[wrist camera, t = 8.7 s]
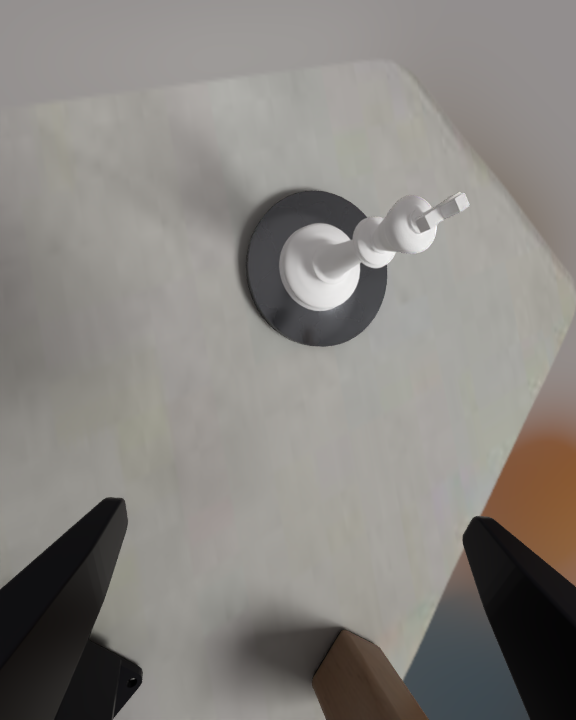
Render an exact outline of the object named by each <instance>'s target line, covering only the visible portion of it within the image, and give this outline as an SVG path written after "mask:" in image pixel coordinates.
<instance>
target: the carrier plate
mask: <svg viewBox="0 0 576 720" xmlns="http://www.w3.org/2000/svg"><path fill="white" fill-rule="evenodd" d="M365 218H367V217H366V216H365V214H364V213H363V212H362V211H361V210H359V209H358V208H357V207H356V206H355V205H353V204H352V203H351V202H349V201H347V200H346V199H344V198H342V197H340V196H337V195H335V194H332V193H328V192H323V191H304V192H300V193H296V194H293V195H290V196H288V197H286V198H284V199H283V200H281V201H279V202H278V203H277V204H275V205H274V206H273V207H272V208H271V209H270V210H269V211H268V212H267V213H266V214H265V215H264V217H263V218H262V219H261V221H260V222H259V224H258V225H257V227H256V229H255V231H254V233H253V235H252V237H251V240H250V243H249V247H248V252H247V262H246V271H247V280H248V285H249V289H250V292H251V295H252V298H253V300H254V302H255V304H256V307H257V308H258V310H259V312H260V313H261V315H262V316H263V317H264V319H265V320H266V321H267V322H268V323H269V325H271V326H272V327H273V328H274V329H275V330H276V331H277V332H279V333H280V334H281V335H283V336H284V337H286V338H288V339H290V340H292V341H294V342H297V343H300V344H304V345H309V346H322V347H324V346H333V345H337V344H341V343H344V342H346V341H349V340H350V339H352V338H354V337H356V336H357V335H358V334H360V333H361V332H362V331H363V330H364V329H365V328H366V327H367V326H368V325H369V324H370V323H371V321H372V320H373V319H374V317H375V316H376V314H377V312H378V311H379V308H380V306H381V304H382V301H383V298H384V295H385V290H386V284H387V264H386V265H385V266H383V267H381V268H370V267H368V266H366V265H364V264H363V263H362V262H361V263H360V275H359V280H358V284H357V286H356V288H355V290H354V292H353V294H352V295H351V296H350V297H349V298H348V299H347V300H346V301H345V302H344V303H342V304H341V305H339V306H337V307H335V308H333V309H330V310H326V311H314V310H310V309H307V308H305V307H303V306H301V305H299V304H298V303H297V302H296V301H294V300H293V299H292V298H291V296H290V295H289V294H288V292H287V291H286V289H285V287H284V285H283V283H282V280H281V276H280V270H279V260H280V254H281V251H282V248H283V246H284V244H285V242H286V241H287V239H288V238H289V237H290V236H291V235H292V234H293V233H294V232H295V231H297V230H298V229H300V228H302V227H305V226H307V225H310V224H315V223H324V224H329V225H332V226H334V227H336V228H338V229H340V230H341V231H343V232H344V233H345V234H346V235H347V236H348V237H349V238H350V240H353V233H354V230H355V228H356V226H357V225H358V223H359V222H360V221H362V220H363V219H365Z"/></svg>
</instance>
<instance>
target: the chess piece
mask: <svg viewBox="0 0 576 720" xmlns="http://www.w3.org/2000/svg"><path fill="white" fill-rule="evenodd" d="M469 206H470V205H469V202H468V200H467V198H466V195H465V193H464V192H463V193H461V192H458V193H456V194H454V195H452V196H450V197H449V198H447V199H446V200H444V201H443V202H441V203H440V204H439V205H437V206H435V207H433V208H432V207H431V205H430V204H429V203H428V202H427V201H426V200H425V199H423V198H422V197H419V196H416V195H408V196H405V197H403V198H401V199H400V200H398V201H397V202H396V203H395V204H394V205H393V207H392V208H391V209H390V211H389V212H388V214H387V216H386V217H385V218H381V217H367V218H365V219H363V220H362V221H360V222H359V223H358V225H357V226H356V228H355V230H354V233H353V240H350V238H349V237H348V236H347V235H346V234H345V233H344V232H343V231H341V230H340V229H338V228H336V227H334V226H332V225H329V224H324V223H315V224H310V225H307V226H305V227H302V228H300V229H298V230H297V231H295V232H294V233H293V234H292V235H291V236H290V237H289V238H288V239H287V241H286V242H285V244H284V246H283V248H282V251H281V254H280V260H279V270H280V276H281V280H282V283H283V285H284V287H285V289H286V291H287V292H288V294H289V295H290V296H291V298H292V299H293V300H294V301H296V302H297V303H298V304H299V305H301V306H303V307H305V308H307V309H310V310H314V311H326V310H330V309H333V308H335V307H337V306H339V305H341V304H342V303H344V302H345V301H346V300H347V299H348V298H349V297H350V296H351V295H352V294H353V292H354V290H355V288H356V286H357V284H358V280H359V275H360V263H361V262H362V263H363V264H364V265H366V266H368V267H370V268H381V267H383V266H385V265H386V264H388V263H389V262H390V261H391V260H392V258H393V257H394V255H395V253H396V252H401V253H408V254H415V253H420V252H422V251H424V250H426V249H427V248H428V247H429V246H430V245H431V244H432V242H433V240H434V238H435V235H436V230H437V224H438V223H440V222H441V221H443V220H444V219H446V218H449V217H451V216H453V215H456V214H458V213H460V212H462V211H463V210H464V209H466V208H467V207H469Z"/></svg>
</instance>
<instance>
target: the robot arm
mask: <svg viewBox="0 0 576 720" xmlns="http://www.w3.org/2000/svg"><path fill="white" fill-rule="evenodd" d="M127 525H128V518H127V511H126V504H125V500H124V499H123V498H112V497H108V498H105V499H103V500H102V501H101V502H100V503H99V504H98V505H96V506H95V507H94V508H93V509H92V510H91V511H90V512H88V513H87V514H86V515H85V516H84V517H83V518H82V519H80V520H79V521H78V522H77V523H76V524H75V525H74V526H72V527H71V528H70V529H69V530H68V531H67V532H65V533H64V534H63V535H62V536H61V537H60V538H59V539H57V540H56V541H55V542H54V543H53V544H52V545H51V546H49V547H48V548H47V549H46V550H45V551H44V552H43V553H41V554H40V555H39V556H38V557H37V558H36V559H35V560H33V561H32V562H31V563H30V564H29V565H28V566H27V567H25V568H24V569H23V570H22V571H21V572H20V573H19V574H17V575H16V576H15V577H14V578H13V579H12V580H11V581H9V582H8V583H7V584H6V585H5V586H4V587H3V588H1V589H0V720H113V718H114V717H115V716H116V715H117V713H118V712H119V711H120V710H121V708H122V707H123V706H124V705H125V704H126V702H127V701H128V700H129V699H130V698H131V696H132V695H133V694H134V693H135V691H136V690H137V689H138V688H139V686H140V685H141V683H142V676H143V671H142V669H141V668H140V667H139V666H137V665H135V664H133V663H131V662H129V661H127V660H125V659H123V658H121V657H120V656H118V655H116V654H114V653H112V652H110V651H109V650H107V649H105V648H103V647H101V646H99V645H97V644H95V643H93V642H91V641H89V640H88V638H89V635H90V633H91V631H92V628H93V626H94V624H95V621H96V619H97V616H98V614H99V612H100V609H101V607H102V604H103V602H104V599H105V596H106V593H107V590H108V587H109V584H110V581H111V578H112V574H113V571H114V568H115V565H116V562H117V559H118V555H119V552H120V549H121V546H122V543H123V540H124V536H125V533H126V530H127ZM463 546H464V549H465V552H466V555H467V558H468V561H469V564H470V567H471V571H472V573H473V576H474V580H475V583H476V586H477V589H478V592H479V595H480V598H481V601H482V604H483V607H484V610H485V612H486V615H487V617H488V620H489V622H490V624H491V627H492V629H493V632H494V634H495V637H496V639H497V641H498V644H499V646H500V648H501V651H502V653H503V656H504V658H505V661H506V663H507V665H508V668H509V670H510V672H511V675H512V677H513V680H514V682H515V684H516V687H517V689H518V692H519V694H520V696H521V699H522V701H523V704H524V706H525V708H526V711H527V713H528V715H529V718H530V720H576V587H575V586H574V585H573V584H572V583H570V582H569V581H568V580H567V579H565V578H564V577H563V576H562V575H561V574H560V573H558V572H557V571H556V570H555V569H553V568H552V567H551V566H550V565H548V564H547V563H546V562H545V561H544V560H543V559H541V558H540V557H539V556H538V555H536V554H535V553H534V552H532V550H530V549H529V548H528V547H527V546H525V545H524V544H523V543H522V542H521V541H519V540H518V539H517V538H516V537H515V536H513V535H512V534H511V533H510V532H509V531H507V530H506V529H505V528H504V527H502V526H501V525H500V524H499V523H498V522H496V521H495V520H494V519H492V518H490V517H484V516H475V517H474V518H473V519H472V520H471V522H470V524H469V525H468V527H467V529H466V531H465V532H464V534H463ZM131 678H135V679H134V680H129V679H131Z"/></svg>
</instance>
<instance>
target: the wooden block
mask: <svg viewBox="0 0 576 720" xmlns="http://www.w3.org/2000/svg"><path fill="white" fill-rule="evenodd" d="M312 686H313V689H314V691H315V693H316V696H317V698H318V701H319V703H320V706H321V708H322V710H323V713H324V715H325V718H326V720H429V719H428V718H427V716H426V715H425V713H424V712H423V710H422V709H421V708H420V706H419V704H418V703H417V702H416V700H415V699H414V697H413V696H412V694H411V693H410V691H409V690H408V688H407V687H406V685H405V684H404V682H403V681H402V679H401V678H400V677H399V675H398V674H397V672H396V671H395V669H394V668H393V666H392V665H391V663H390V662H389V660H388V659H387V657H386V656H385V654H384V653H383V652H382V650H381V649H380V647H378V646H377V645H375V644H373V643H371V642H369V641H367V640H365V639H363V638H361V637H359V636H357V635H355V634H353V633H351V632H349V631H347V630H342V631H341V632H340V633H339V635H338V637H337V639H336V640H335V642H334V644H333V645H332V647H331V649H330V650H329V652H328V654H327V655H326V657H325V659H324V660H323V662H322V664H321V665H320V667H319V669H318V670H317V672H316V674H315V675H314V677H313V680H312Z"/></svg>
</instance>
